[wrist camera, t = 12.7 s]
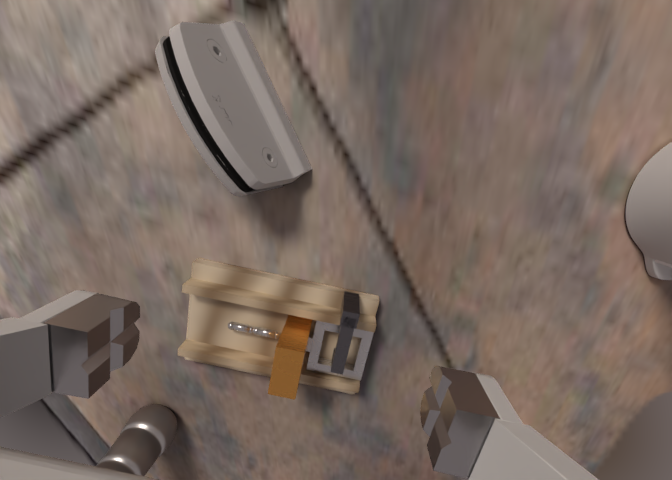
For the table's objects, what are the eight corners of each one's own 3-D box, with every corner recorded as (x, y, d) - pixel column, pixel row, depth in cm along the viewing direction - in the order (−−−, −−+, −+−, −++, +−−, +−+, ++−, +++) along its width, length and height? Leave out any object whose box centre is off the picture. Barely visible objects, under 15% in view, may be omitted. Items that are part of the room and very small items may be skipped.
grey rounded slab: (313, 172, 36) (265, 196, 28) (282, 186, 38) (228, 213, 30) (242, 19, 32) (160, -8, 24) (211, 45, 34) (127, 29, 26)
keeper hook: (359, 293, 38) (359, 314, 33) (345, 350, 40) (343, 377, 36) (344, 290, 38) (343, 310, 33) (331, 347, 40) (328, 373, 36)
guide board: (378, 295, 40) (380, 309, 36) (354, 386, 44) (354, 406, 40) (198, 258, 40) (183, 268, 36) (190, 352, 44) (176, 369, 40)
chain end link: (373, 326, 39) (377, 363, 32) (360, 374, 41) (361, 418, 34) (232, 296, 39) (207, 327, 32) (226, 346, 41) (201, 384, 34)
